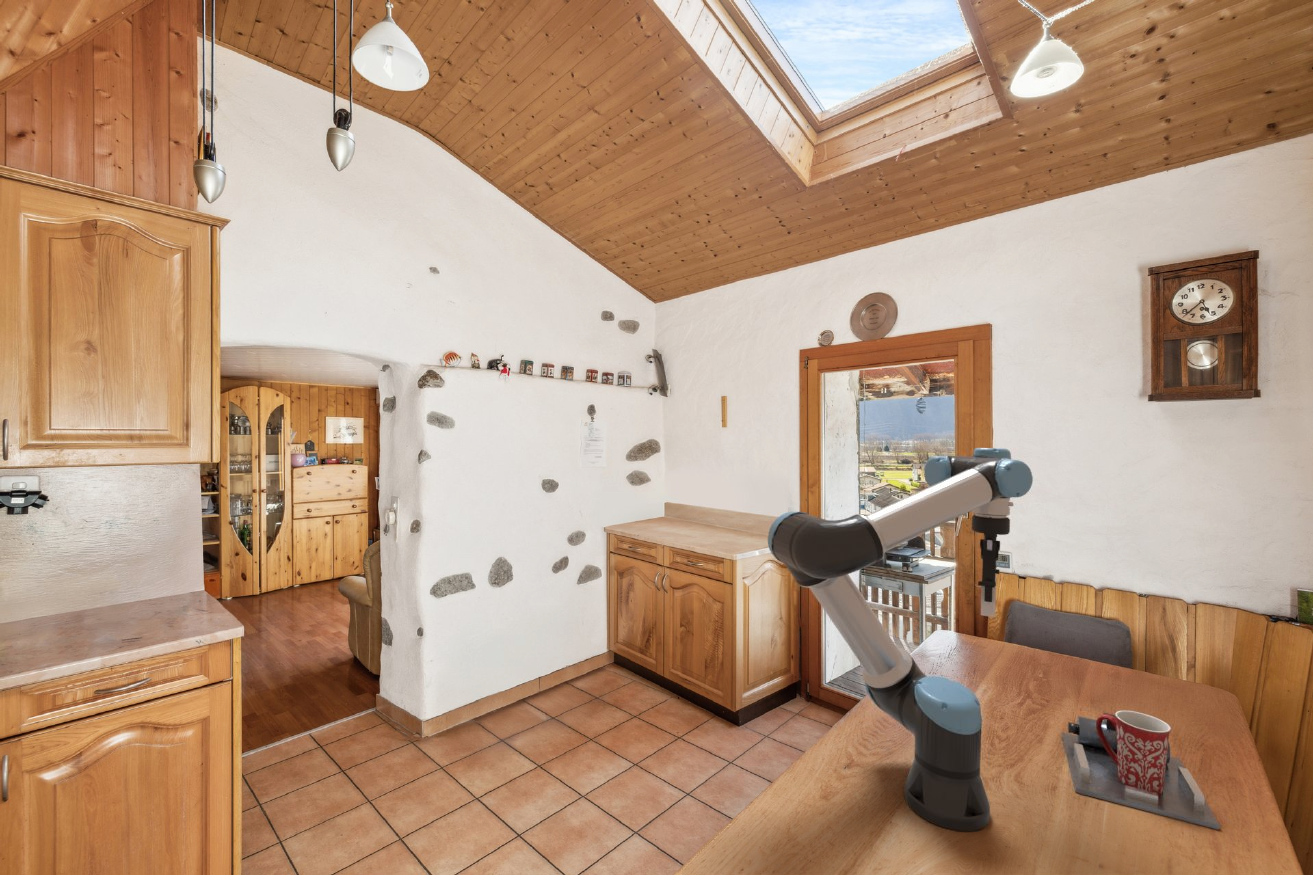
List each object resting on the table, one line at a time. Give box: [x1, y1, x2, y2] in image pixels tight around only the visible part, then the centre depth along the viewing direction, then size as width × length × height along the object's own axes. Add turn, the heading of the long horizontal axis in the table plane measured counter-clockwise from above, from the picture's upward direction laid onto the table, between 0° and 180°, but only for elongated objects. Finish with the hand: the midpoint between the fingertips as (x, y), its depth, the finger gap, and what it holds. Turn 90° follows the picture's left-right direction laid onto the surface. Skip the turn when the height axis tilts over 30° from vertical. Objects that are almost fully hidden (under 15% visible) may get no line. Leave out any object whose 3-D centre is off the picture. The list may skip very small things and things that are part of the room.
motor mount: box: [1060, 712, 1220, 831], centre depth 125 cm, size 26×22×8 cm
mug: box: [1096, 710, 1172, 794], centre depth 122 cm, size 13×9×14 cm
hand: (988, 608), depth 131 cm, fingers open, 13 cm apart
